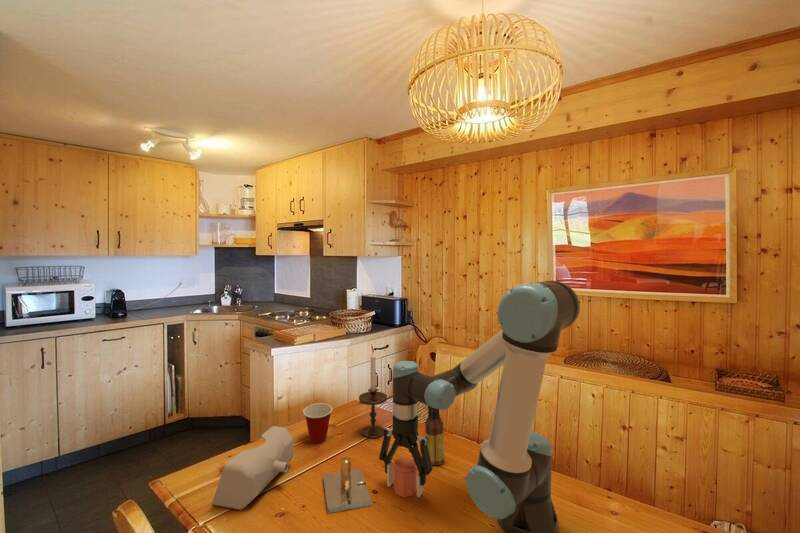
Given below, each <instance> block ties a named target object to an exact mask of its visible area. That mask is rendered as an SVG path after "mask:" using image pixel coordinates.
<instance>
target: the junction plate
mask: <svg viewBox="0 0 800 533" xmlns="http://www.w3.org/2000/svg"><path fill="white" fill-rule="evenodd" d="M322 480H323V481H322V482H323V489H324V495H325V502H326V503H325V504H326V509H327V510H326V511H327V514H332V513H338V512H342V511H343V512H344V511H348V510H349V511H350V510H353V509H360V508H364V507H371V506H372V498H371V495H370V492H369V491H370V490H369V488H368V485H367V483H368V481H367V480H366V479H365V476H364V472H363V469H362V468H357V469H355V468H354V469H352V458H351V457H349V456H348V457H347V456H345V457H342V458H341V459H340V471H336V472H329V473H324V474H323V475H322Z"/></svg>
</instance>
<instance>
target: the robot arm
mask: <svg viewBox="0 0 800 533" xmlns="http://www.w3.org/2000/svg"><path fill="white" fill-rule="evenodd" d="M580 304H581V303H580V299H579V297H578V295H577V293H576V292H575V290H574V289H572V287H570V286H569V285H568V284H566V283H564V282H561V281H557V280H545V281H538V282H525V283H521V284H519V285H516V286H514V287H511V289H509V290H507V291H506V292H505V293H504V294H503V296H502V297H501V299H500V301H499V303H498V306H497V321H498V323H499V324H498V325H500V326H501V329H500V330H499V331H498V332H496V334H494V335H492V336H491V337H490V338H489V339H488V340H487V341H486V342H484V343H483V344H482V345H481V346H479V347H478V348H477V349H476V350H474V351H473V352H471V354H469V355H468V356H467V357H465V358H464V359H463V360H461V362H459V363H458V364H457V365H456V366H454V367H453V368H451V369H449V370H448V369H447V370H445V371H443V372H440V373H437V374H435V375H426V374H424V373H421V372H419V371H420V370H419V364H418V363H416V361H411V360H401V361H397V362H396V363H394V365H393V367H392V368H393V369H392V378H391V379H392V428H391V427H390V426H387V427H386V428H384V431H383V433H384V435H383V439H382V444H381V448H380V453H379V456H378V459H379V460H380V461H383V463H384V473H385V474H386V486H387V487H389V488H390V487H391V486H392V485H393V484H394V466H395V461H393V457H394V456H395V454H396V452H397V450H398V449H399V447H400V448H401V447H404V448H406V449H408V451H409V453H410V454H411V456H412V460H414V461H415V464H416V470H417V471H418V473H416V497H417V498H420V497H421V496H422V495H423V493H424V486H425V484H426V483H427V476H429V475H430V474H431V472H432V471H433V465H431V460H430V455H429V450H428V446H427V443H428V438H427V437H425V436H424V437H423V436H420V435H419V431H418V429H419V415H418V414H419V403H421V404H423V405H425V406H427V407H428V406H430V407H432V408H436V409H439V411H446V410H448V409H450V408H451V405H453V403H454V401H455V399H456V397H458V396H460V395H461V394H462V395H463V394H464V393H469V392H470V391H473V389H475V388H477V386H478V384H479V383H480V382H482V381H483V380H484V379H486V378H487V377H489V376H490V375H491V374H493V373H494V372H496V371H497V370H498V369H500V368H501V367H502V372H501V376H500V382H499V386H498V391H497V397H496V402H495V407H494V412H493V418H492V422H491V426H490V433H489V438H488V439H485V440H484V441H482V442H481V445H480V448H479V455H478V458H477V459H478V460H477V462H476V465H474V466H471V468H469V470H468V472H467V474H466V477H465V478H466V479H465V481H466V482H465V483H466V488H467V491H468V494H469V496H470V497H471V498H472V499H471V500H472V501H473V503H474V504H475V505H476V507H477V508H478V509H479V510H480V512H482V513H483V514H484V515H486V516H488V517H489V518H492V519H495V520H497V522H498V524H499V526H501V528H502V529H503V530H504V531H505V532H506V533H558V527H559V525H558V524H559V523H558V522H559V520H558V515H557V512H556V510H555V506H554V503H553V500H552V496H551V495H552V467H553V466H552V464H553V461H552V460H553V452H552V443H551V441H550V440H549V439H548V438H547V437H546V436H544V435H543V434H541V433H539V432H536V431H532V430H533V424H534V421H535V418H536V417H535V416H536V412H537V406H538V402H539V398H540V392H541V388H542V384H543V378H544V374H545V370H546V365H547V364H546V363H547V360H548V357H549V356H551V355H553V354H555V353H556V352H557V349H558V346H559V341H560V337H561V332H562V331H563V330H566V329H568V328H569V327H571V326H572V325H573V324H574V323H575V322H576V320H577V319H578V317H579V314H580V310H581V308H580V307H581V305H580ZM392 436H393V438H394V441H393V443H392V446H391V447H389V446H390V442H391V439H392ZM389 448H390V449H389ZM419 448H420V449H419Z"/></svg>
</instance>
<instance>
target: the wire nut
mask: <svg viewBox="0 0 800 533" xmlns="http://www.w3.org/2000/svg"><path fill="white" fill-rule="evenodd" d="M393 490H394V493H395V495H397V496H399V497H402V498H407V497H413V496H414V494H415V493H417V466H416V464H415V461H414V459H413V458H409V457H401V458H398V459H397V460H395V461H394V482H393Z"/></svg>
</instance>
